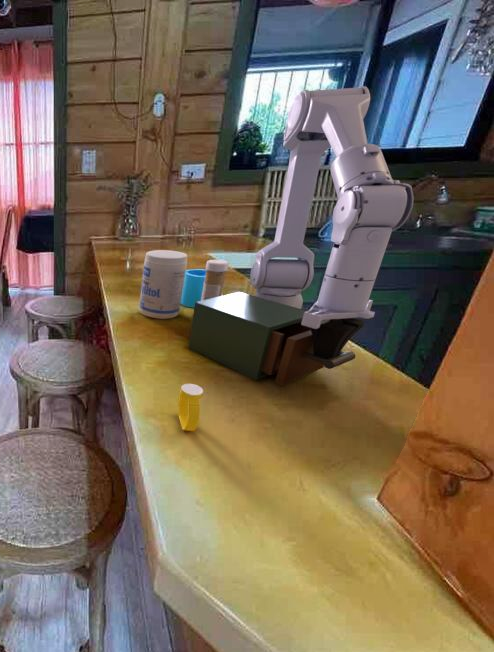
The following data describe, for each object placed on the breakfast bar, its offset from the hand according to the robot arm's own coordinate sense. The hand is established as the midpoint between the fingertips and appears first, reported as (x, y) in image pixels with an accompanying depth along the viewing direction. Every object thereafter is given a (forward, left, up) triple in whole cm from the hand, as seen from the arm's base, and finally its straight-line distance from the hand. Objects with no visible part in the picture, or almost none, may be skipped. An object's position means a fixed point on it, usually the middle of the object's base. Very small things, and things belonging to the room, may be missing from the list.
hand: (322, 362), depth 58 cm
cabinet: (0, -13, -5) cm, 14 cm away
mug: (-18, -40, -5) cm, 44 cm away
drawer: (0, -7, -4) cm, 7 cm away
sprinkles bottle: (-11, -30, -5) cm, 33 cm away
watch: (+25, -3, -5) cm, 26 cm away
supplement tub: (-3, -38, -5) cm, 39 cm away
